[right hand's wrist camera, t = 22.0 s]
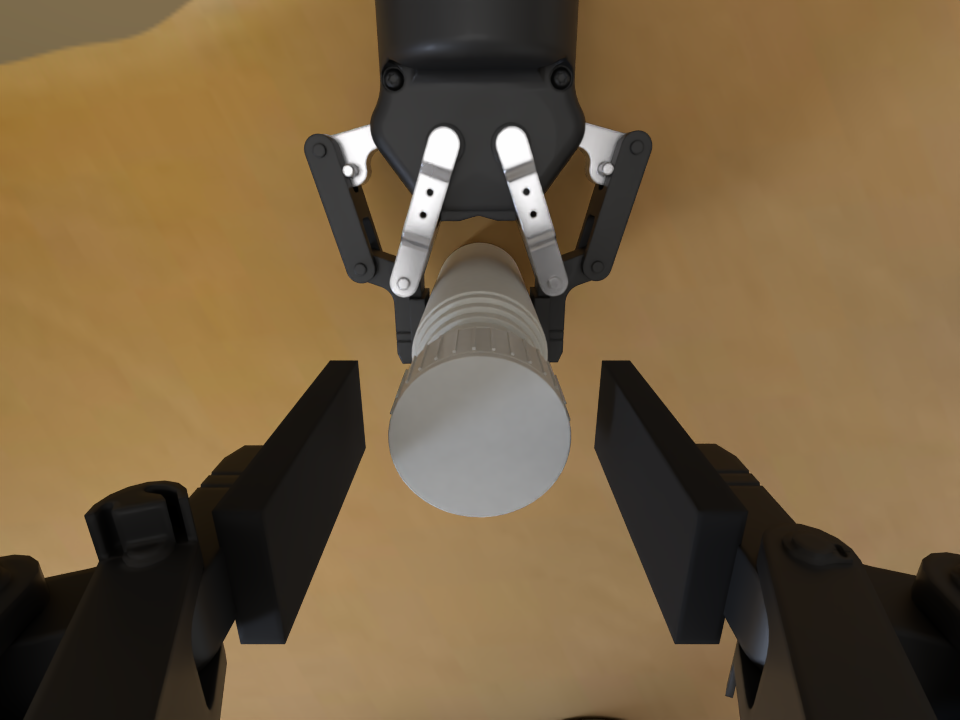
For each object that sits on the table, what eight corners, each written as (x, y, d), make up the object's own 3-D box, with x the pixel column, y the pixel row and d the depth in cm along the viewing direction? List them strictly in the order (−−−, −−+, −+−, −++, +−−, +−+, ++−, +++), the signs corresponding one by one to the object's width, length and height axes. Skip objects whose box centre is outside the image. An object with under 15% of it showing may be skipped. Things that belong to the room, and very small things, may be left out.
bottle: (463, 338, 30) (444, 533, 14) (422, 267, 29) (348, 393, 13) (535, 301, 30) (603, 462, 13) (497, 226, 28) (521, 305, 12)
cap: (367, 402, 15) (347, 443, 12) (478, 290, 13) (478, 313, 11) (480, 496, 16) (480, 548, 13) (592, 399, 14) (612, 440, 12)
